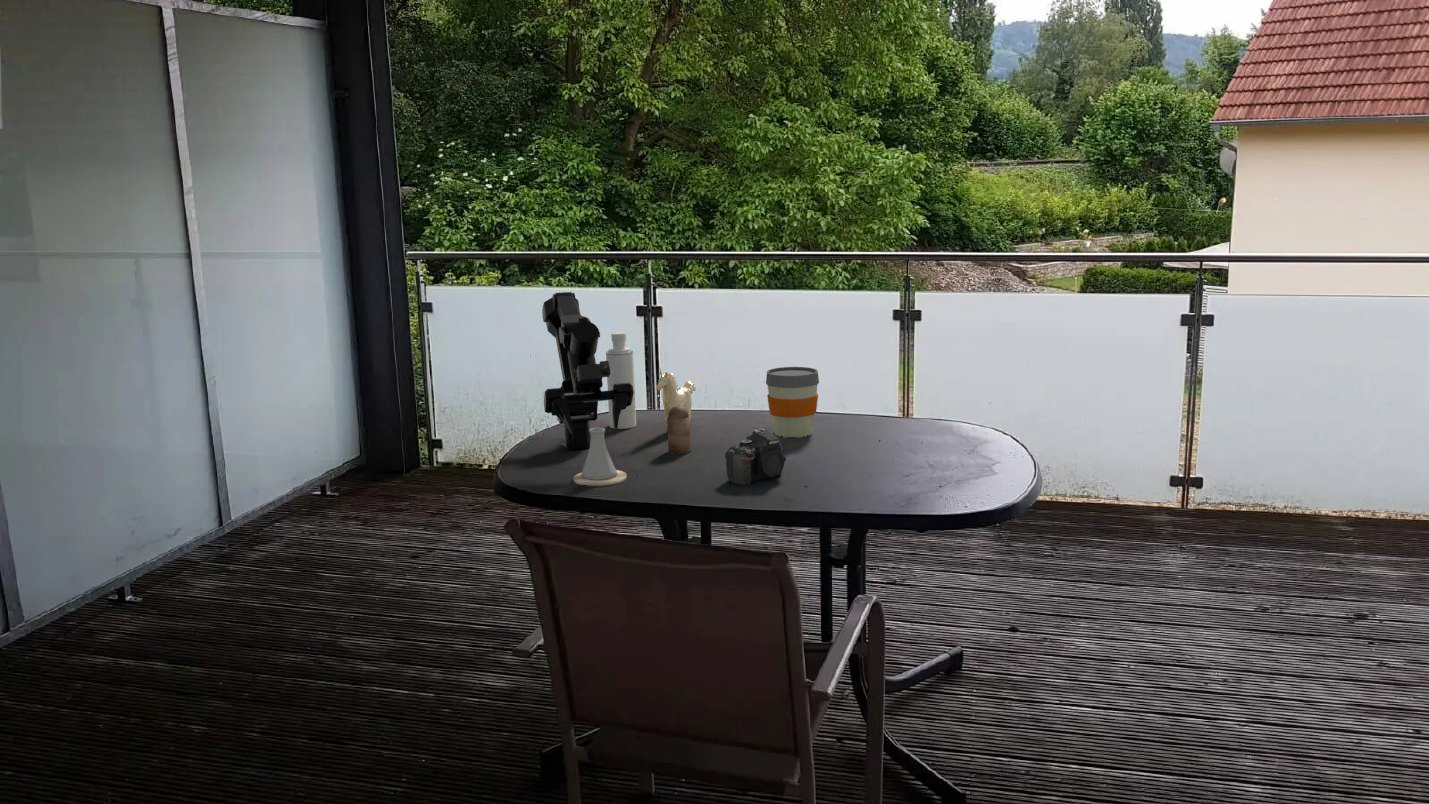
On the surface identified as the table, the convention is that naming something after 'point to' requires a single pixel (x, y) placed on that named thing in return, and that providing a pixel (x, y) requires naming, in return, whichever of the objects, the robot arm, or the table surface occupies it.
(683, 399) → the unicorn
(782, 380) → the reusable coffee cup
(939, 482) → the table surface
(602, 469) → the flask
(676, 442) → the pepper shaker
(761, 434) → the camera
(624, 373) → the spray bottle
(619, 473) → the coaster
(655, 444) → the table surface
